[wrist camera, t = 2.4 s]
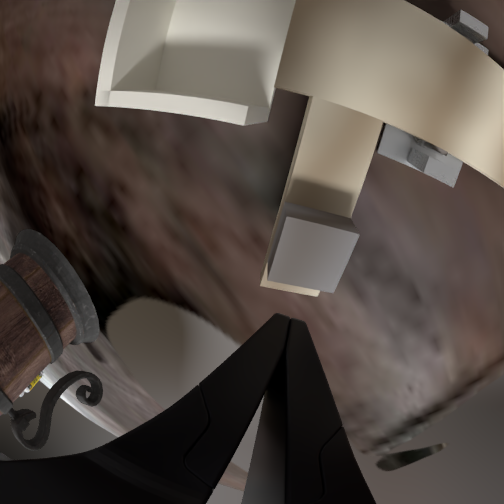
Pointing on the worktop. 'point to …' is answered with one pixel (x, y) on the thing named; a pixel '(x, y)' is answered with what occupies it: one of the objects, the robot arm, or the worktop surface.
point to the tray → (195, 57)
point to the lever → (371, 120)
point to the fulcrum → (418, 150)
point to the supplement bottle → (32, 383)
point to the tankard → (41, 329)
